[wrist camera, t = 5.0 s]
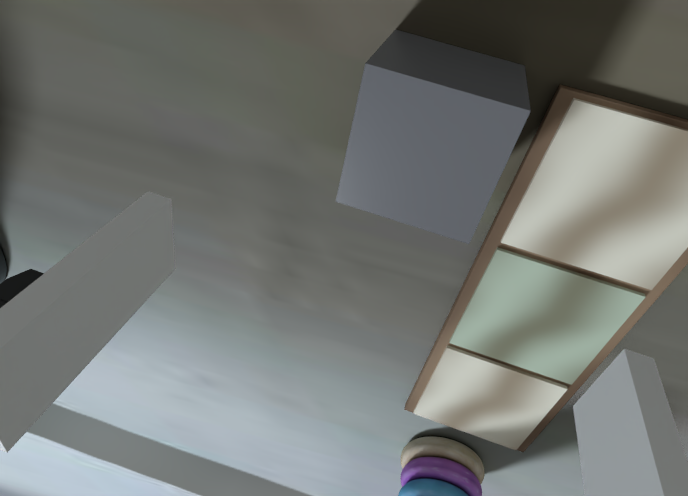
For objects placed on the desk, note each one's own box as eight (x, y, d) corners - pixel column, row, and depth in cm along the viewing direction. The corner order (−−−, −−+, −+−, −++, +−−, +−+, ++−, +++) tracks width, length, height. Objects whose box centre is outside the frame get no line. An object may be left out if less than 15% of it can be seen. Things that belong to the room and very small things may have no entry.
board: (405, 404, 43) (403, 412, 42) (559, 84, 24) (561, 89, 23) (523, 446, 42) (523, 455, 41) (780, 145, 23) (789, 152, 22)
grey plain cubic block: (367, 146, 29) (335, 201, 24) (395, 29, 25) (365, 63, 19) (475, 179, 28) (468, 244, 23) (524, 65, 24) (530, 110, 19)
